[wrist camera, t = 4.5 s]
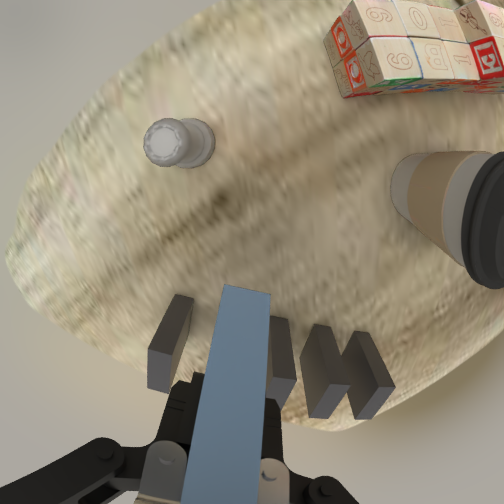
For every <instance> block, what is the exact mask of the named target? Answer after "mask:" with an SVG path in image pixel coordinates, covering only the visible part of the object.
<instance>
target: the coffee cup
mask: <svg viewBox="0 0 504 504" xmlns="http://www.w3.org/2000/svg"><path fill="white" fill-rule="evenodd" d="M391 197H392V201H393V204H394V206H395V208H396V209H397V211H398V212H399V213H400V214H401V215H402V216H403V217H405V218H406V219H407V220H409V221H410V222H411V223H412V224H414V225H415V226H416V228H417V229H418V230H419V231H420V232H421V233H423V234H424V235H425V236H426V237H428V238H429V239H430V240H431V241H432V242H433V243H435V244H436V245H437V246H438V247H439V248H441V249H442V250H443V251H444V252H445V253H446V254H447V255H449V256H450V257H451V258H452V259H453V260H454V261H455V262H456V263H458V264H459V265H461V266H463V267H465V268H466V269H467V272H468V273H469V275H470V276H471V278H472V279H473V280H474V281H475V282H477V283H478V284H480V285H484V286H485V287H487V288H490V289H500V288H503V287H504V152H499V153H497V154H492V153H490V152H486V151H455V152H436V153H431V154H413V155H410V156H408V157H406V158H405V159H403V160H402V161H401V162H400V163H399V165H398V166H397V168H396V169H395V171H394V173H393V176H392V180H391Z"/></svg>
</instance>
